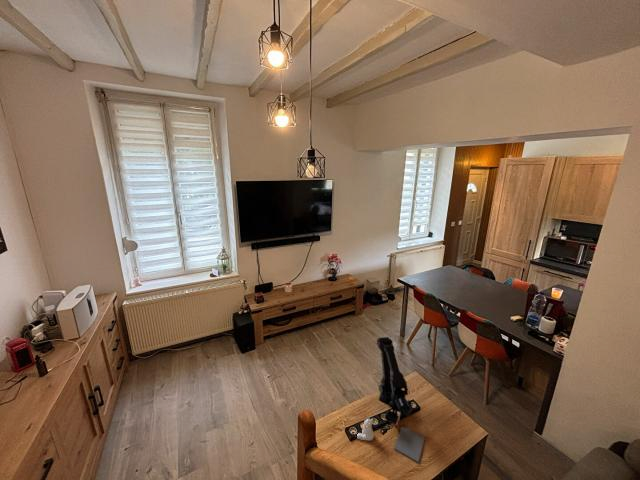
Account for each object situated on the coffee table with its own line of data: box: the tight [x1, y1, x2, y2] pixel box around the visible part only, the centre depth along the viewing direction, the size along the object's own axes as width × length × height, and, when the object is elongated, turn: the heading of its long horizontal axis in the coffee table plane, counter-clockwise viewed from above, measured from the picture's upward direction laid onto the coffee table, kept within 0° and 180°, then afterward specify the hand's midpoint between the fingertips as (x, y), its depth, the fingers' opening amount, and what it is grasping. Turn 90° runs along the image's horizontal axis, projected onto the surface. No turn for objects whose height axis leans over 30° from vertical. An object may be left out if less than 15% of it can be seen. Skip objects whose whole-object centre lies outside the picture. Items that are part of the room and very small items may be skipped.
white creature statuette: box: [356, 418, 375, 442], centre depth 141 cm, size 10×9×12 cm
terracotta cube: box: [390, 410, 401, 426], centre depth 150 cm, size 5×5×5 cm
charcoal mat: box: [393, 425, 425, 464], centre depth 138 cm, size 12×14×1 cm
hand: (394, 418), depth 151 cm, fingers open, 5 cm apart
